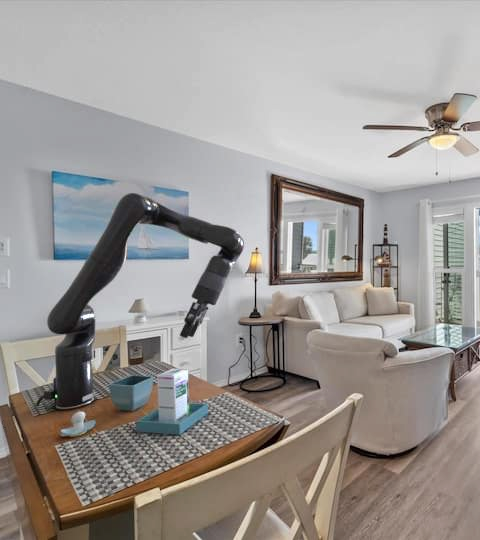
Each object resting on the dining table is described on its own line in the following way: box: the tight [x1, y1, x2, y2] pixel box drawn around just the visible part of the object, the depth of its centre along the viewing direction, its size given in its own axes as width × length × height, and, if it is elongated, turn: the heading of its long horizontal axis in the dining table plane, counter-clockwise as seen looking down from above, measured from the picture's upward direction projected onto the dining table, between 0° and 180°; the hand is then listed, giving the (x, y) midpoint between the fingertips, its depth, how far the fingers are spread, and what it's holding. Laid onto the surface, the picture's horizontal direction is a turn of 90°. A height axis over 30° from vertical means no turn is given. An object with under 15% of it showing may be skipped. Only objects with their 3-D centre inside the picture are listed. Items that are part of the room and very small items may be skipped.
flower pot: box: [108, 374, 154, 412], centre depth 107 cm, size 9×9×9 cm
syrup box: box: [156, 368, 190, 423], centre depth 97 cm, size 6×6×14 cm
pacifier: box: [60, 410, 96, 438], centre depth 91 cm, size 7×6×6 cm
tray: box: [135, 402, 209, 436], centre depth 98 cm, size 13×13×3 cm
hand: (186, 336), depth 102 cm, fingers open, 8 cm apart
